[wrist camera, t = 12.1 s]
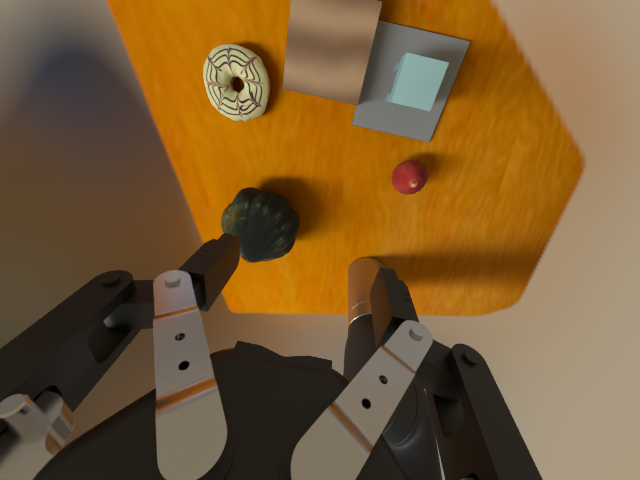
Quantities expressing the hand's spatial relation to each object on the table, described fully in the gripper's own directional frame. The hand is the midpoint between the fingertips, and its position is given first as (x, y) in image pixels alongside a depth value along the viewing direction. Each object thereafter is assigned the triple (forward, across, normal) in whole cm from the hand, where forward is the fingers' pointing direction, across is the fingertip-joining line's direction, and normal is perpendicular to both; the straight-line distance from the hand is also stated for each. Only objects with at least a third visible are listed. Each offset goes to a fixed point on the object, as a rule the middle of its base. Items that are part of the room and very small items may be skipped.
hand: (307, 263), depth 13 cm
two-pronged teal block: (+36, -9, -12) cm, 39 cm away
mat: (+36, -9, -12) cm, 39 cm away
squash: (+36, +11, +16) cm, 41 cm away
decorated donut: (+37, +18, -7) cm, 41 cm away
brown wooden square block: (+36, +4, -14) cm, 39 cm away
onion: (+36, -14, +1) cm, 39 cm away
